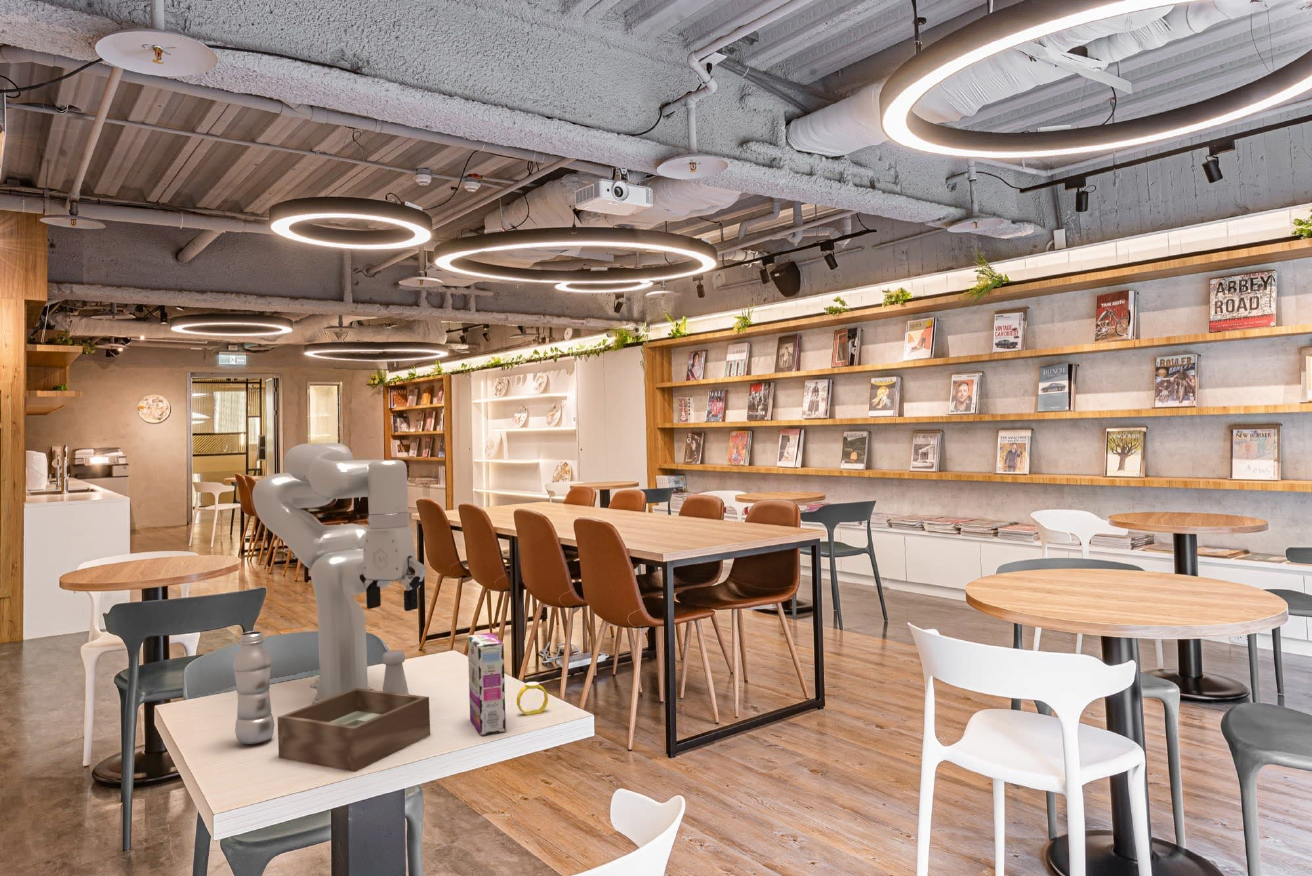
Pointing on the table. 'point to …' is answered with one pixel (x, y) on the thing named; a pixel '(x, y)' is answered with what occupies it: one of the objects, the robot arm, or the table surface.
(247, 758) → the table surface
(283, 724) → the box
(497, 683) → the candy bar box
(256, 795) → the table surface
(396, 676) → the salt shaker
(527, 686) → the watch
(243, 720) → the plastic bottle
